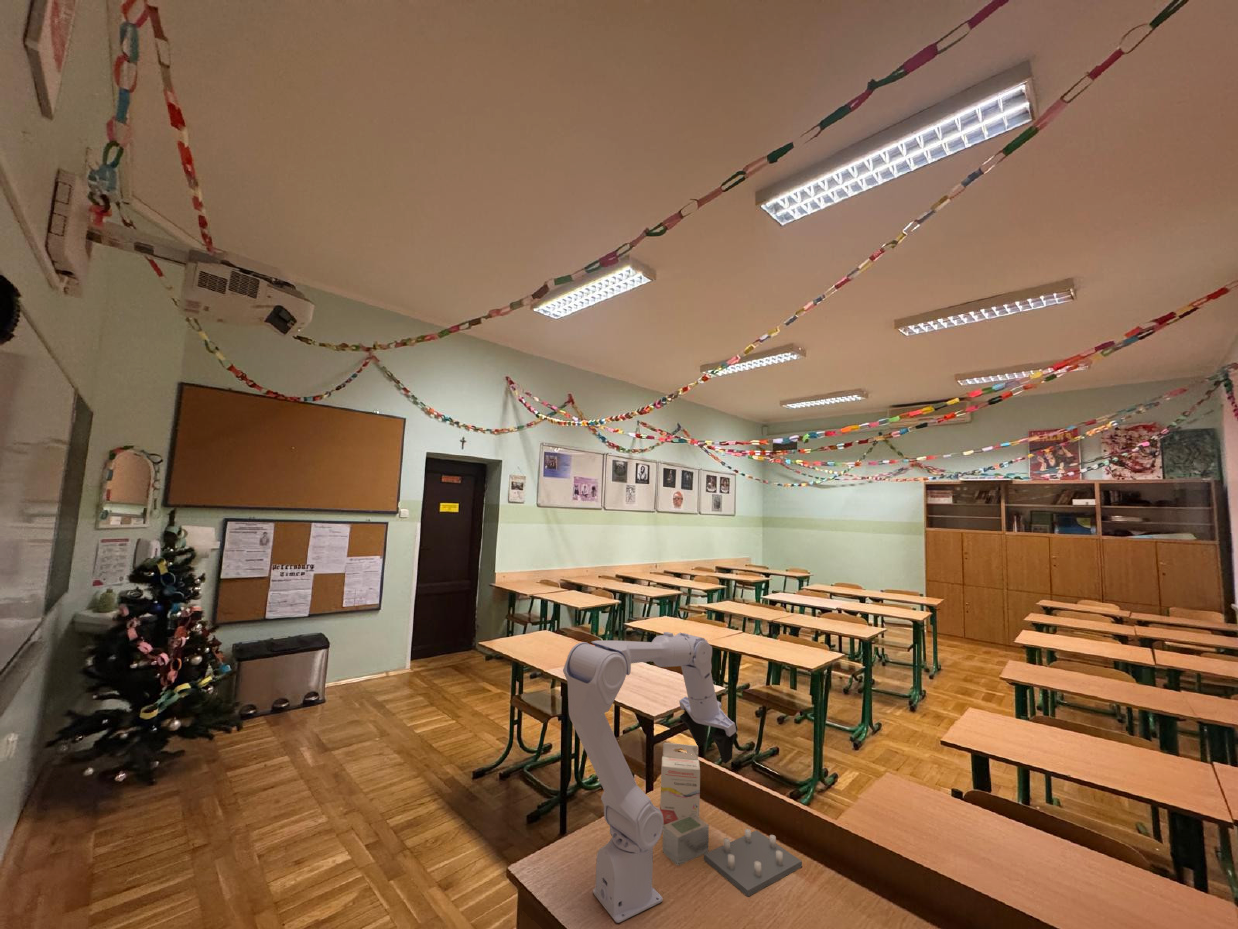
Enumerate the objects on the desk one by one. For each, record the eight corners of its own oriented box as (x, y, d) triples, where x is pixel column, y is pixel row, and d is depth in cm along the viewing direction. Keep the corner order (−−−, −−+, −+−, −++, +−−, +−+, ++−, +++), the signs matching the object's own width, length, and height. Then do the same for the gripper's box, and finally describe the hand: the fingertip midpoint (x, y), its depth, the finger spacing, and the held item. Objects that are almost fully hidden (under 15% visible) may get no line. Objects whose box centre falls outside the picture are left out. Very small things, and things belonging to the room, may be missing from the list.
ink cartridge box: (659, 824, 103) (661, 751, 105) (660, 811, 108) (661, 741, 110) (699, 828, 102) (700, 754, 104) (698, 815, 107) (699, 744, 109)
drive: (677, 866, 90) (678, 837, 91) (662, 853, 94) (663, 824, 95) (709, 852, 95) (710, 823, 95) (694, 839, 98) (694, 812, 99)
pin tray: (747, 897, 83) (747, 878, 83) (703, 859, 92) (704, 842, 93) (802, 867, 91) (801, 849, 91) (756, 835, 100) (756, 819, 101)
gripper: (740, 694, 95) (753, 756, 96) (691, 671, 107) (703, 727, 108) (715, 712, 91) (730, 777, 92) (667, 686, 103) (680, 744, 104)
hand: (714, 751), depth 100 cm, fingers open, 7 cm apart
